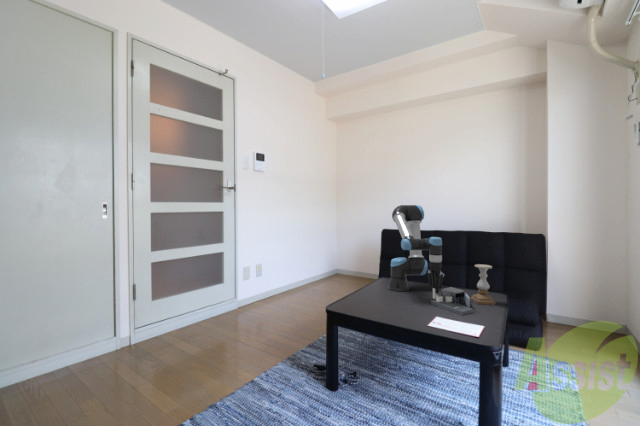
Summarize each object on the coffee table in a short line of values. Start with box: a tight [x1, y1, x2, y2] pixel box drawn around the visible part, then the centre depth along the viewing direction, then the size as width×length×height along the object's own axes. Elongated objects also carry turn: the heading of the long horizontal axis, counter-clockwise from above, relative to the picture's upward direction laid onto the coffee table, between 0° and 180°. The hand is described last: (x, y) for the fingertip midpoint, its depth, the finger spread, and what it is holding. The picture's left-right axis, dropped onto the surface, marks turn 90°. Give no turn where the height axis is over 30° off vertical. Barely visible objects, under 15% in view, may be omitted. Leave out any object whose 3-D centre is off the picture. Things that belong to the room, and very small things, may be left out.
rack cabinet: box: [440, 286, 466, 305], centre depth 187 cm, size 10×10×8 cm
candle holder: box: [470, 263, 496, 306], centre depth 188 cm, size 11×11×24 cm
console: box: [430, 299, 474, 316], centre depth 176 cm, size 22×10×2 cm, turn 29°
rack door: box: [464, 292, 474, 308], centre depth 180 cm, size 3×10×7 cm, turn 164°
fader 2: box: [446, 296, 452, 302], centre depth 181 cm, size 2×3×3 cm
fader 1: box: [435, 295, 443, 302], centre depth 181 cm, size 2×3×3 cm
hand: (435, 298), depth 184 cm, fingers closed
